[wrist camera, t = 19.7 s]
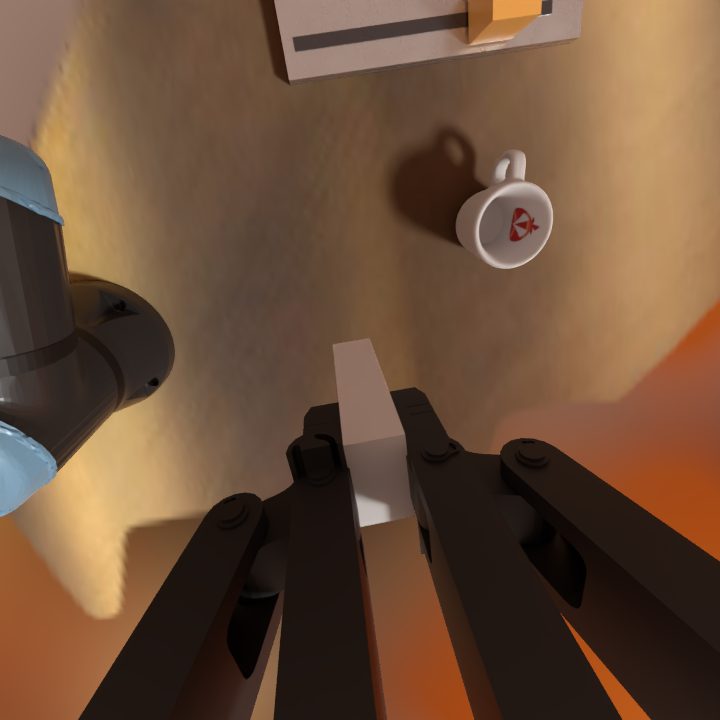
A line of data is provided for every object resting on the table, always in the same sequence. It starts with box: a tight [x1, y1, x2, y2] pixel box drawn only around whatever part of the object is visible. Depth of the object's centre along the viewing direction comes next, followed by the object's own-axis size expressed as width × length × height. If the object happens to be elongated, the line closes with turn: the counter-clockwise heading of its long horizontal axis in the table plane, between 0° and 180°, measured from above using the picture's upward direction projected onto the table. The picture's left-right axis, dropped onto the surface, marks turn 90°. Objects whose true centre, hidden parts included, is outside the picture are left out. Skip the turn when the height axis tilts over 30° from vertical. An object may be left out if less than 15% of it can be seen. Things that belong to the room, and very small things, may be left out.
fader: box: [468, 0, 542, 45], centre depth 30 cm, size 4×4×5 cm
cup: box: [456, 150, 553, 269], centre depth 37 cm, size 11×8×8 cm
